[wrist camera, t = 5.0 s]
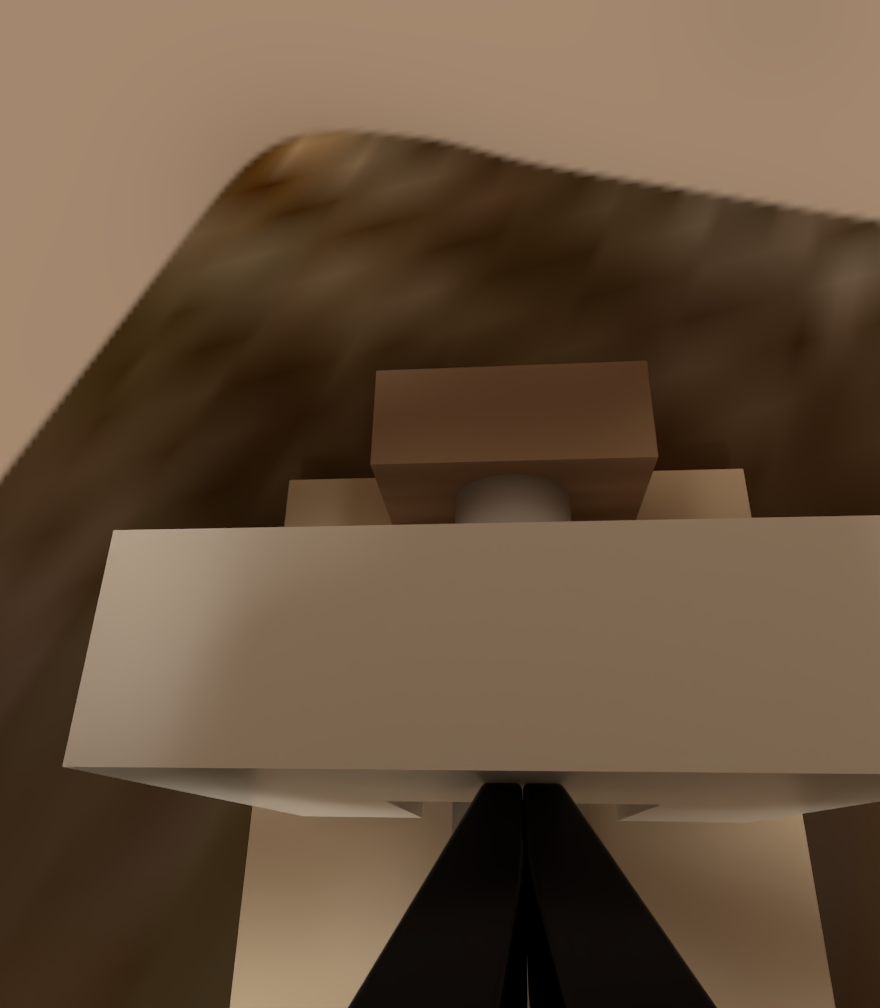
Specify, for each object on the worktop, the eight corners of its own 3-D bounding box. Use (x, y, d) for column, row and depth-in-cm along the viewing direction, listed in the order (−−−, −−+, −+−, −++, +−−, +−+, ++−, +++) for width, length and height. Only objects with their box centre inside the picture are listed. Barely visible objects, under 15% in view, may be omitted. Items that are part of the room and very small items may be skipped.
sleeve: (745, 822, 14) (1041, 775, 6) (303, 816, 15) (62, 767, 7) (722, 656, 16) (941, 441, 8) (317, 657, 17) (127, 464, 8)
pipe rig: (908, 1570, 11) (1247, 2183, 6) (192, 1503, 12) (-47, 1982, 7) (732, 487, 19) (815, 344, 14) (299, 497, 20) (223, 368, 15)
